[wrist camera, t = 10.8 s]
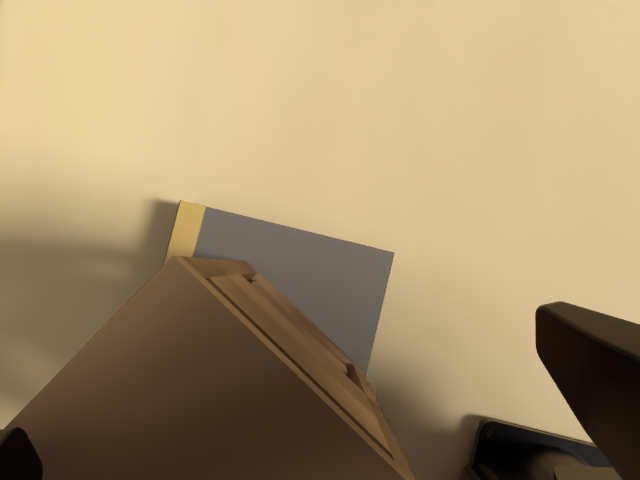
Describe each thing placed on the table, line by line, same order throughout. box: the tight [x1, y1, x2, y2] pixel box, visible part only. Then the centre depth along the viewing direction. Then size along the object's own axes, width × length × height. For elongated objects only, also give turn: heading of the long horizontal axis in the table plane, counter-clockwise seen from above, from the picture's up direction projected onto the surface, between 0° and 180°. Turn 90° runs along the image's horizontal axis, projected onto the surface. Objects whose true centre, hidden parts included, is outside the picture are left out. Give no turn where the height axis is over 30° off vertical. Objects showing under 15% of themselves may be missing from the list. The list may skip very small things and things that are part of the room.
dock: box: [163, 200, 394, 376], centre depth 20 cm, size 9×12×2 cm
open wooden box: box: [4, 256, 416, 480], centre depth 14 cm, size 6×6×11 cm
